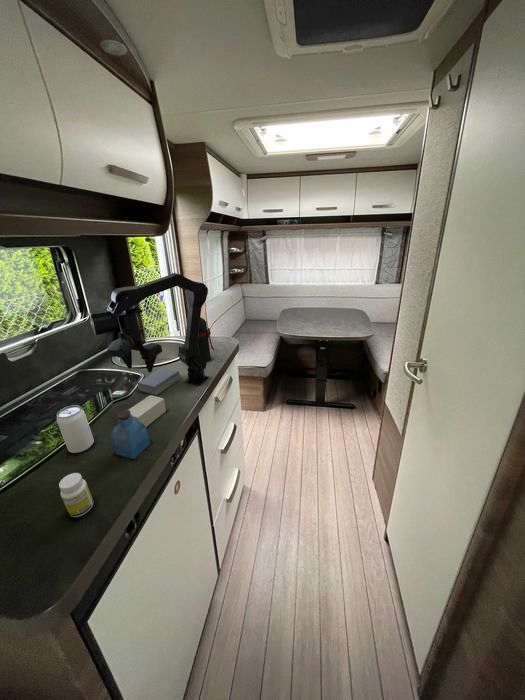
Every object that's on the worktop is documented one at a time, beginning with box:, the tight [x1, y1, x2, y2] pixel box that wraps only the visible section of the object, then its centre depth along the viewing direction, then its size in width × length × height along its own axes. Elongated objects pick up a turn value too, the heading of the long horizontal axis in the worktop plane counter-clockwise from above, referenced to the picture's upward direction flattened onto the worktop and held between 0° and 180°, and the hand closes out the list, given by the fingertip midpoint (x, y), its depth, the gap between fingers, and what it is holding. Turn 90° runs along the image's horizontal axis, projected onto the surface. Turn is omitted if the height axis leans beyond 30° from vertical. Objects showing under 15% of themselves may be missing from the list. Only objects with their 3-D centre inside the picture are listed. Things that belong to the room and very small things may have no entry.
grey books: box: [137, 367, 182, 396], centre depth 110 cm, size 14×9×4 cm, turn 156°
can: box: [56, 404, 95, 454], centre depth 77 cm, size 6×6×12 cm
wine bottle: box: [198, 316, 215, 363], centre depth 126 cm, size 8×10×30 cm
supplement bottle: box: [58, 472, 94, 518], centre depth 60 cm, size 5×5×8 cm
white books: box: [141, 403, 167, 428], centre depth 90 cm, size 11×6×3 cm, turn 156°
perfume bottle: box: [110, 409, 151, 460], centre depth 76 cm, size 6×6×12 cm
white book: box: [128, 394, 166, 422], centre depth 89 cm, size 11×6×2 cm, turn 156°
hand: (140, 370), depth 97 cm, fingers open, 9 cm apart
